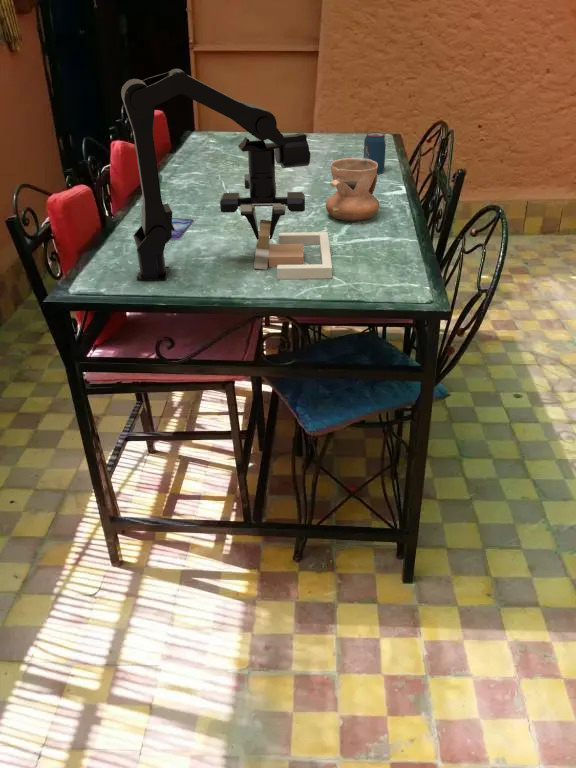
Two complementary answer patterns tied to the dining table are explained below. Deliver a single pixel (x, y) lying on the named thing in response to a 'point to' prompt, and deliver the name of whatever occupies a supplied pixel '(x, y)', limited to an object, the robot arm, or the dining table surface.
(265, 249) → the beige t-shaped block
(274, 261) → the tile
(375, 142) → the soda can
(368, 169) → the ceramic jug
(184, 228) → the smartphone
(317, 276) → the beige u-shaped frame
